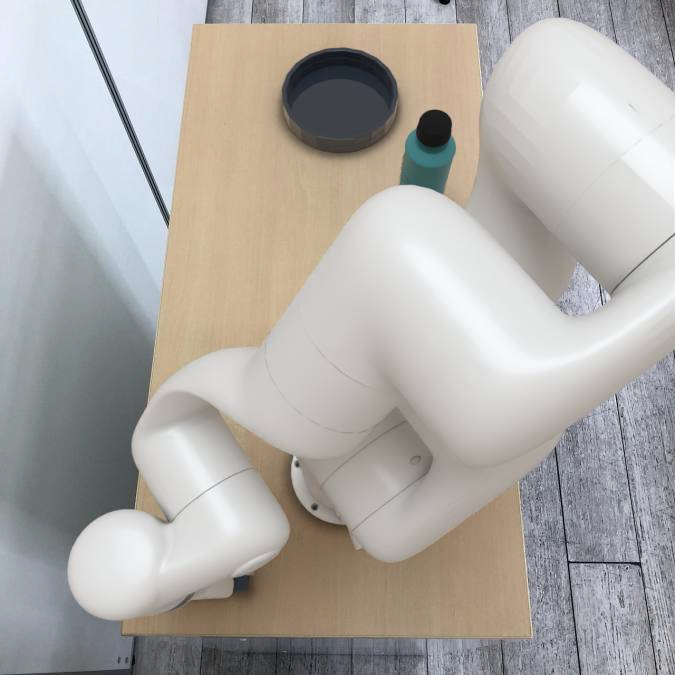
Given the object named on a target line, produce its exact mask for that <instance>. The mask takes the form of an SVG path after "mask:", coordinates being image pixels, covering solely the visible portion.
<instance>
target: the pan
mask: <svg viewBox="0 0 675 675" xmlns="http://www.w3.org/2000/svg"><path fill="white" fill-rule="evenodd" d="M281 101H282V108H283V109H282V110H283V111H282V112H283V117H284V120H285V121H286V124H287V126H288V128H289V130H290V131H291V132H292V133H293V134H294V135H295V136H296V137H297V138H298V139H299V140H300V141H301V142H302V143H304V144H306V145H308V146H309V147H311V148H314V149H316V150H320V151H323V152H328V153H333V154H334V153H335V154H337V153H338V154H344V153H352V152H353V153H354V152H357V151H361V150H363V149H366V148H368V147H370V146H373V145H374V144H376V143H377V142H379V141H380V140H381V139H383V137H385V136H386V134H387V133H388V131H390V129H391V128H392V126H393V125H394V122H395V118H396V114H397V110H398V103H399V88H398V83H397V80H396V78H395V75H394V74H393V73H392V71H391V69H390V68H389V67H388V65H386V64H385V63H384V62H382V61H381V60H380V58H378V57H377V56H375V55H372V54H370V53H368V52H366V51H364V50H361V49H358V48H357V49H356V48H350V47H344V46H343V47H327V48H323V49H321V50H316V51H314V52H310V53H308V54H307V55H306V56H304V57H303V58H301V59H300V60H298V61H296V62H295V63H294V65H293V66H292V67H291V68H290V69H289V71H288V72H287V73H286V74H285V78H284V81H283V84H282V87H281Z"/></svg>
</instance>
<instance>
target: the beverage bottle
mask: <svg viewBox="0 0 675 675" xmlns="http://www.w3.org/2000/svg"><path fill="white" fill-rule="evenodd" d="M452 128H453V121H452V118H451V116H450V115H449V114H448V113H447V112H445V111H443V110H441V109H437V108H435V109H428V110H426V111H425V112H423V113H422V114H421V115H420V117H419V120H418V123H417V124H416V128H415V129H413V130H412V131H411V132H410V133H408V135H407V137H406V139H405V144H404V153H403V155H402V157H401V165H400V172H399V182H397V183H398V184H397V185H416V186H420V187H424V188H429V189H432V190H434V191H436V192H438V193H440V194H443V195H445V194H446V189H447V188H446V187H447V183H448V178H449V175H450V172H451V167H452V165H453V164H452V163H453V161H454V157H455V155H456V152H457V144H456V143H457V142H456V141H455V138H454V136H453V135H452V132H453V131H452V130H453V129H452Z"/></svg>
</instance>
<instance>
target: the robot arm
mask: <svg viewBox="0 0 675 675" xmlns="http://www.w3.org/2000/svg"><path fill="white" fill-rule="evenodd" d="M504 50H505V51H504V52H503V53H502V55H501V56H500V59H499V60H498V61H497V62H496V64H495V65H494V68H493V69H492V71H491V74H490V76H489V78H488V80H487V82H486V85H485V88H484V91H483V94H482V98H481V102H480V107H479V114H478V135H479V136H478V137H479V140H478V141H479V145H478V146H479V148H478V149H479V151H478V161H477V167H476V168H477V169H476V173H475V178H474V182H473V185H472V189H471V191H470V195H469V197H468V199H467V201H466V202H465V204H464V207H462V206H460V204H458V203H457V202H455V201H454V200H452V199H451V198H449V197H447V196H446V195H445V194H444V195H443V194H440V193H438V192H436V191H434V190H432V189H429V188H424V187H420V186H416V185H399V184H397V185H393V186H389V187H387V188H384V189H382V190H380V191H378V192H376V193H374V194H373V195H372V196H371V197H369V198H368V199H366V200H365V201H364V202H363V203H362V204H361V205H360V206H359V207H358V208H357V209H356V210H355V212H353V214H352V215H351V216H350V218H349V219H348V221H347V222H346V223H345V225H344V226H343V227H342V229H341V230H340V232H339V233H338V234H337V236H336V237H335V239H334V240H333V242H332V243H331V245H330V246H329V247H328V249H326V251H325V253H324V254H323V256H322V257H321V258H320V259H319V261H318V263H317V265H316V266H315V267H314V268H313V270H312V271H311V273H310V274H309V276H308V277H307V278H306V280H305V282H304V283H303V284H302V286H301V288H299V289H298V291H297V293H296V294H295V296H294V297H293V298H292V300H291V301H290V303H289V304H288V305H287V307H286V309H285V310H284V312H283V313H282V315H281V316H280V317H279V319H278V320H277V322H276V323H275V324H274V326H273V327H272V329H271V330H270V331H269V333H268V335H267V336H266V337H265V339H264V341H263V342H262V344H261V345H260V346H235V347H228V348H223V349H218V350H215V351H211V352H209V353H206V354H204V355H202V356H200V357H198V358H196V359H194V360H192V361H190V362H189V363H187V364H186V365H184V366H183V367H181V368H180V369H179V370H177V371H176V372H175V373H173V374H172V375H171V376H170V377H168V378H167V379H166V380H164V382H163V383H162V384H161V385H160V386H158V388H157V390H156V391H155V392H154V394H153V395H152V397H151V398H150V400H149V402H148V404H147V405H146V407H145V408H144V411H143V413H142V414H141V416H140V418H139V419H138V422H137V424H136V426H135V428H134V430H133V434H132V437H131V445H130V446H131V447H130V448H131V455H132V459H133V461H134V463H135V467H136V468H137V470H138V472H139V474H140V475H141V477H142V479H143V480H144V482H145V485H146V487H147V488H148V490H149V492H150V494H151V496H152V497H153V498H154V501H155V502H156V503H157V506H158V507H159V509H160V511H161V512H162V514H163V516H164V517H165V518H163V517H160V516H157V515H155V514H152V513H150V512H147V511H144V510H140V509H139V510H138V509H135V508H133V509H132V508H131V509H130V508H122V509H116V510H111V511H110V512H107V513H104V514H102V515H100V516H99V517H97V518H95V519H94V520H93V521H92V522H90V523H89V524H88V525H86V527H85V528H84V529H82V531H81V532H80V534H79V535H78V536H77V537H76V540H75V542H74V543H73V545H72V547H71V549H70V553H69V557H68V561H67V572H66V573H67V581H68V586H69V589H70V592H71V594H72V596H73V598H74V600H75V601H76V602H77V603H78V605H79V606H80V607H81V608H82V609H83V610H84V611H86V612H87V613H88V614H90V615H92V616H93V617H96V618H99V619H102V620H106V621H116V622H117V621H128V620H132V619H137V618H138V619H139V618H144V617H150V616H156V615H160V614H166V613H171V612H174V611H177V610H179V609H181V608H182V607H185V605H187V604H188V603H189V602H191V601H195V600H197V601H198V600H213V599H228V598H230V597H231V596H232V594H234V593H233V592H234V591H233V587H234V580H235V578H238V576H239V577H240V576H243V575H248V576H255V571H257V570H259V568H262V567H264V566H265V565H267V564H268V563H270V562H271V561H273V560H274V559H275V558H276V557H277V556H278V555H279V554H280V553H281V550H282V549H283V548H284V547H285V545H286V544H287V543H288V540H289V539H290V535H291V526H290V522H289V519H288V517H287V515H286V513H285V511H284V509H283V508H282V506H281V504H280V503H279V502H278V499H277V498H276V497H275V495H274V494H273V492H272V491H271V489H270V488H269V486H268V485H267V483H266V482H265V480H264V479H263V477H262V475H261V474H260V473H259V471H258V470H257V468H256V467H255V465H254V464H253V462H252V461H251V459H250V457H249V456H248V455H247V453H246V451H245V450H244V449H243V447H242V445H241V443H240V442H239V441H238V439H237V438H236V436H235V434H234V433H233V431H232V430H231V429H230V427H229V425H228V424H227V421H226V420H225V419H224V417H223V416H222V414H221V413H223V415H225V416H226V417H228V419H231V420H232V421H233V422H235V423H236V424H238V425H239V426H240V427H242V428H244V429H245V430H247V431H249V433H251V434H253V435H255V436H256V437H257V438H259V439H261V440H263V441H264V442H266V443H267V444H269V445H270V446H272V447H274V448H276V449H278V450H280V451H282V452H285V453H287V454H289V455H291V456H292V460H291V464H290V478H291V483H292V488H293V490H294V493H295V495H296V497H297V499H298V501H299V502H300V504H301V505H302V506H303V507H304V509H306V511H308V512H309V513H310V514H311V515H312V516H314V517H316V518H317V519H319V520H321V521H324V522H326V523H329V524H334V525H342V526H346V528H347V530H348V533H349V537H350V540H351V542H352V544H353V547H354V550H355V552H356V551H359V550H361V549H364V551H365V552H366V553H367V554H368V555H369V556H371V557H372V558H373V559H374V560H376V561H379V562H381V563H389V564H391V563H392V564H393V563H398V562H403V561H404V560H407V559H409V558H412V557H414V556H416V555H418V554H419V553H421V552H422V551H424V550H426V549H427V548H428V547H430V546H432V545H433V544H434V543H436V542H437V541H438V540H440V539H442V538H443V537H444V536H446V535H447V534H448V533H450V532H451V531H453V530H454V529H455V528H457V527H458V526H459V525H461V524H462V523H463V522H465V521H466V520H467V519H469V518H471V517H472V516H473V515H475V513H477V512H479V511H480V510H481V509H483V508H484V507H485V506H486V505H487V506H488V504H490V503H491V502H492V501H494V500H495V499H497V498H498V497H500V495H502V494H503V493H505V492H507V491H508V490H509V489H510V488H511V487H513V486H514V485H515V484H517V483H519V481H521V480H522V479H524V477H526V476H527V475H528V474H529V473H531V472H532V471H533V470H534V469H535V468H537V467H538V466H539V465H540V464H541V463H542V462H544V461H545V459H546V458H548V456H549V455H550V454H551V453H552V452H553V451H554V450H555V448H556V447H557V445H558V444H559V442H560V441H561V439H562V438H563V436H564V433H565V431H566V430H567V429H569V427H571V426H572V425H574V424H576V423H577V422H578V421H580V420H582V419H583V418H584V417H586V416H588V415H589V414H591V413H592V412H593V411H594V410H596V409H597V408H599V407H600V406H602V405H603V404H604V403H606V402H607V401H608V400H609V399H611V398H612V397H614V396H615V395H616V394H618V393H619V392H620V391H622V390H623V389H624V388H626V387H627V386H628V385H630V384H631V383H633V381H635V380H637V379H638V378H639V377H640V376H641V375H643V374H644V373H646V372H647V371H648V370H650V369H651V368H652V367H654V366H655V365H657V364H658V363H659V362H661V361H662V360H663V359H664V358H665V357H667V356H668V355H670V354H671V353H673V352H674V351H675V92H674V91H673V90H672V89H671V88H669V87H668V86H667V85H666V84H665V83H664V82H662V81H661V80H660V79H659V78H658V77H657V76H656V75H655V74H653V72H651V71H650V70H649V69H648V68H647V67H646V66H644V65H643V64H642V63H641V62H639V61H638V60H637V59H636V58H635V57H634V56H633V55H631V54H630V53H629V52H627V51H626V50H625V49H624V48H622V46H620V45H619V44H617V43H616V42H615V41H613V40H612V39H610V38H609V37H607V36H606V35H604V34H603V33H602V32H600V31H598V30H596V29H594V28H593V27H591V26H589V25H587V24H585V23H584V22H580V21H577V20H574V19H571V18H568V17H549V18H543V19H540V20H539V21H536V22H534V23H532V24H531V25H529V26H528V27H526V28H524V30H523V31H521V32H520V33H519V34H518V35H517V36H516V37H515V38H514V39H513V40H512V41H511V43H510V44H509V45H508V46H507V48H506V49H504ZM577 262H578V263H579V264H580V265H581V267H582V268H583V269H584V270H585V271H586V272H587V273H588V274H589V276H591V277H592V278H593V280H595V282H597V283H598V285H599V286H600V287H601V288H602V289H603V290H604V291H605V292H606V293H607V294H608V295H609V297H610V298H609V300H608V301H606V302H605V303H604V304H602V305H601V306H598V307H597V308H596V309H594V310H592V311H590V312H588V313H585V314H582V315H570V314H566V313H565V312H563V311H562V310H561V309H560V308H559V306H557V305H556V303H557V302H558V301H559V300H560V299H561V298H562V296H564V293H565V292H566V291H567V289H568V287H569V285H570V283H571V280H572V278H573V275H574V272H575V269H576V265H577ZM297 465H298V466H297ZM314 507H316V509H314Z"/></svg>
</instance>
